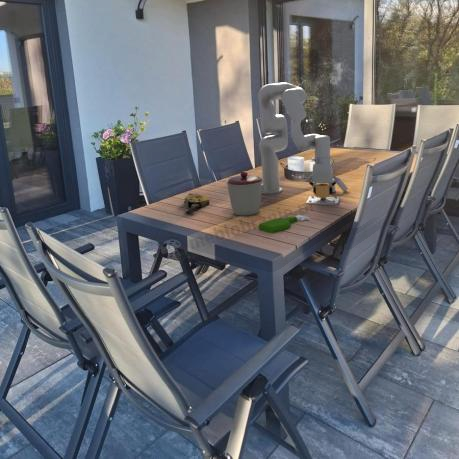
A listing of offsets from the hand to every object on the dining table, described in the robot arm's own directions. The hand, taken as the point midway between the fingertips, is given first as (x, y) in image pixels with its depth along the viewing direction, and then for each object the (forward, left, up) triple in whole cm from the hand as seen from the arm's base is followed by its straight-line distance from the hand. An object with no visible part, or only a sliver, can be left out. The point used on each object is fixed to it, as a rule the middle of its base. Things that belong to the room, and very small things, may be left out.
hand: (322, 194), depth 252 cm
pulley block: (-66, -14, -4) cm, 67 cm away
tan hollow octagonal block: (0, 0, -1) cm, 1 cm away
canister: (-35, -23, -4) cm, 42 cm away
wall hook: (+5, +20, -4) cm, 21 cm away
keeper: (0, 0, -4) cm, 4 cm away
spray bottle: (-12, -40, -5) cm, 42 cm away
